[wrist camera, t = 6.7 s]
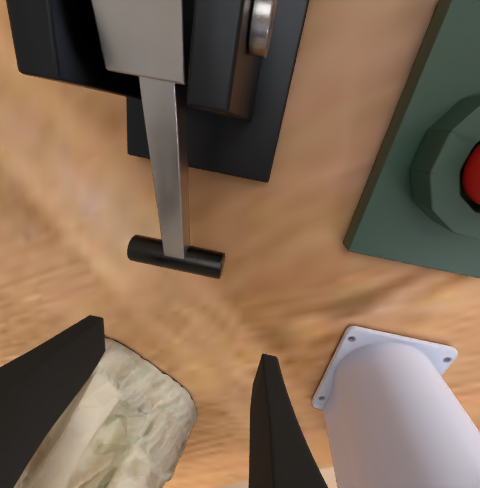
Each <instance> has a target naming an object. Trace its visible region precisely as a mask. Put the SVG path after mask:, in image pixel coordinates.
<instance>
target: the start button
mask: <svg viewBox="0 0 480 488" xmlns="http://www.w3.org/2000/svg"><path fill="white" fill-rule="evenodd" d="M462 182H463V187H464V190H465V193H466V194H467V196H468V197H469V198H470V199H471V200H472V201H473V202H475V203H477V204H479V205H480V144H479V145H478V146H477V147H476V148H475V150H474V151H473V152H472V154H471V155H470V157H469V159H468V160H467V163H466V165H465V168H464V171H463V178H462Z"/></svg>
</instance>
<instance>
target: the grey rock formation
mask: <svg viewBox="0 0 480 488" xmlns="http://www.w3.org/2000/svg"><path fill="white" fill-rule="evenodd" d="M105 348H106V351H105V353H104V354H103V356H102V358H101V360H100V362H99V363H98V365H97V367H96V368H95V370H94V371H93V373H92V375H91V376H90V377H89V379H88V380H87V381H86V383H85V384H84V386H83V387H82V388H81V390H80V391H79V392H78V394H77V395H76V396H75V398H74V399H73V400H72V402H71V403H70V404H69V406H68V407H67V408H66V410H65V411H64V412H63V414H62V415H61V416H60V418H59V419H58V420H57V422H56V423H55V424H54V426H53V427H52V428H51V430H50V431H49V433H48V434H47V436H46V437H45V438H44V440H43V441H42V443H41V444H40V446H39V448H38V449H37V451H36V452H35V454H34V456H33V457H32V459H31V460H30V462H29V463H28V465H27V467H26V468H25V470H24V471H23V473H22V475H21V476H20V478H19V480H18V481H17V483H16V484H15V486H14V488H163V486H164V484H165V482H167V481H169V480H171V478H172V476H173V474H174V471H175V468H176V465H177V462H178V460H179V458H180V457H181V453H182V452H183V451H184V447H185V444H186V440H187V438H188V436H189V434H190V432H191V429H192V427H193V425H194V423H195V422H196V417H197V410H196V408H195V403H194V402H193V400H191V397H190V394H189V393H188V392H187V391H186V389H185V388H183V387H180V384H178V383H177V382H175V381H173V380H172V378H171V377H170V376H168V375H165V374H162V373H161V371H159V370H158V369H157V368H156V367H155V366H153V365H152V364H151V363H149V362H148V361H146V360H144V359H142V358H141V357H140V356H139V355H138V354H136V353H135V352H133V351H132V350H131V349H128V348H126V347H125V346H123V345H121V344H120V343H118V342H115V341H113V340H111V339H107V338H105Z"/></svg>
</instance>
